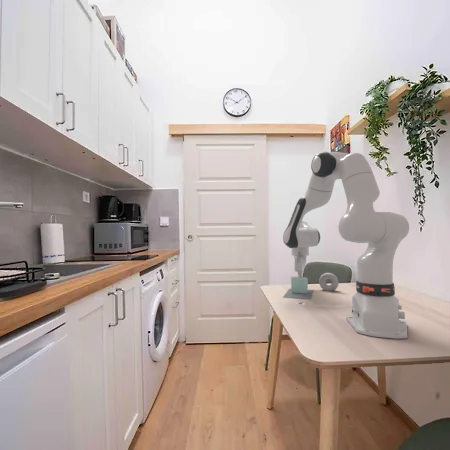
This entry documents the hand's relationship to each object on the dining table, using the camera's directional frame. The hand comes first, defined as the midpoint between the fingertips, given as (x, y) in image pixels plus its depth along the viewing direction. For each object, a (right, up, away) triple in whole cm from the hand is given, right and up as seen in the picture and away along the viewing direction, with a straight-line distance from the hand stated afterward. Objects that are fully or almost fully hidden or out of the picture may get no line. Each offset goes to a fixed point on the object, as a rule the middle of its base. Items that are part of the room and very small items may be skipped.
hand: (300, 277), depth 150 cm
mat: (-3, -7, -8) cm, 11 cm away
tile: (-2, -7, -6) cm, 9 cm away
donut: (+15, -7, -1) cm, 17 cm away
